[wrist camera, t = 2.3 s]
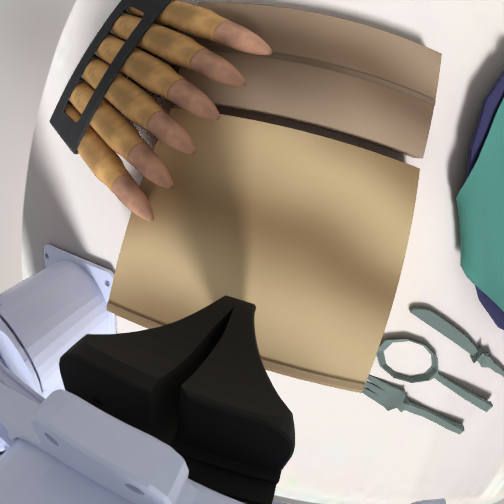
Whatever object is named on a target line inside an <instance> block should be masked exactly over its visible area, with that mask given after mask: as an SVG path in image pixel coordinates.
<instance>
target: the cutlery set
mask: <svg viewBox="0 0 504 504" xmlns="http://www.w3.org/2000/svg"><path fill="white" fill-rule="evenodd" d="M456 201H457V207H458V217H459V221H460V236H461V267H462V269H463V271H464V273H465V275H466V276H467V277H468V278H469V279H470V280H471V281H472V282H473V283H474V284H475V287H476V290H477V294H478V298H479V301H480V302H481V303H482V305H483V306H484V308H485V309H486V310H487V312H488V313H489V315H490V316H491V318H492V319H493V321H494V322H495V324H496V325H497V327H499V328H501V329H503V330H504V72H503V73H502V75H501V76H500V78H499V79H498V81H497V82H496V84H495V85H494V87H493V88H492V90H491V91H490V92H489V94H488V95H487V97H486V98H485V100H484V101H483V104H482V108H481V111H480V115H479V118H478V122H477V125H476V128H475V132H474V135H473V138H472V141H471V144H470V147H469V155H468V168H467V178H466V182H465V183H464V185H463V186H462V188H461V190H460V191H459V193H458V195H457V197H456ZM409 310H410V312H411V313H412V314H414V315H415V316H417V317H418V318H420V319H421V320H423V321H424V322H425V323H427V324H428V325H430V326H431V327H433V328H434V329H436V330H437V331H439V332H440V333H441V334H443V335H444V336H446V337H447V338H449V339H450V340H452V341H453V342H454V343H456V344H457V345H459V346H460V347H462V348H463V349H464V350H466V351H467V352H469V353H470V354H471V356H470V357H471V359H472V361H473V363H475V362H476V361H478V362H479V363H480V365H481V367H489V368H491V369H492V370H493V371H495V372H496V373H499V374H501V375H502V376H503V377H504V371H503V370H502V369H501V368H500V367H499V366H498V365H497V364H496V363H494V362H493V361H492V359H491V358H490V356H489V354H488V353H487V352H484V351H483V349H482V347H481V346H478V347H477V348H476V347H475V345H474V344H473V343H472V342H471V341H470V340H469V338H468V337H467V336H466V335H465V334H464V333H462V332H461V331H460V330H459V329H457V328H456V327H455V326H454V325H452V324H451V323H450V322H448V321H447V320H445V319H444V318H443V317H441V316H440V315H438V314H437V313H435V312H434V311H432V310H430V309H429V308H425V307H411V308H410V309H409ZM403 341H411V342H414V343H417V344H420V345H423V346H424V347H425V348H426V349H427V350H428V352H429V353H430V354H431V359H432V366H431V367H430V368H429V369H428V370H427V371H426V372H425V373H424V374H421V375H416V376H406V375H402V374H398V373H396V372H395V371H394V370H392V369H391V368H390V367H389V366H388V365H387V364H386V361H385V357H384V352H383V351H384V350H385V349H386V348H387V347H388V346H389V345H390V344H391V343H392V342H403ZM377 358H378V361H379V364H380V366H381V367H382V368H383V369H384V370H385V371H386V372H388V373H389V374H390V375H391V376H392V377H393V378H396V379H400V380H403V381H407V382H410V383H415V382H422V381H429V380H431V379H433V378H435V379H437V380H438V381H439V382H441V383H442V384H443V385H445V386H446V387H448V388H449V389H451V390H453V391H454V392H455V393H457V394H458V395H460V396H461V397H462V398H464V399H466V400H467V401H469V402H471V403H472V404H474V405H475V406H477V407H479V408H480V409H482V410H484V411H486V412H487V411H488V410H489V409H490V408H491V407H493V405H492V403H491V402H490V401H488V400H486V399H484V398H482V397H479V396H478V395H476V394H474V393H472V392H470V391H468V390H466V389H464V388H463V387H461V386H459V385H458V384H456V383H454V382H452V381H451V380H449V379H447V378H445V377H444V376H442V375H441V374H439V373H438V358H437V357H436V356H435V355H434V354H433V352H432V351H431V350H430V349H429V348H428V347H427V346H426V345H424V344H421V343H418V342H415V341H412V340H409V339H395V340H385V341H384V342H383V343H382V344H381V346H380V347H379V348H378V351H377ZM367 379H368V380H369V381H371V382H372V383H374V384H372V383H370V382H367V381H366V383H365V386H366V387H367V388H369V389H370V390H369V389H367V388H364V389H363V391H362V393H364V394H365V395H367V396H368V397H370V398H371V399H373V400H375V401H376V402H378V403H379V404H381V405H382V406H384V407H385V408H386V409H387V410H391V409H394V408H398V409H399V410H400V412H402V411H403V410H407V411H409V412H411V413H414V414H417V415H420V416H423V417H425V418H427V419H429V420H431V421H433V422H435V423H437V424H439V425H441V426H443V427H445V428H446V429H448V430H451V431H453V432H455V433H457V434H461V433H462V432H463V431H464V426H463V424H460V423H457V422H455V421H453V420H450V419H449V418H447V417H445V416H443V415H441V414H438V413H436V412H434V411H432V410H430V409H427V408H425V407H423V406H420V405H417V404H415V403H412V402H410V401H408V398H406V397H405V396H406V395H405V390H404V389H402V388H399V387H396V386H394V385H392V384H390V383H387V382H385V381H383V380H380V379H378V378H376V377H373V376H371V375H368V378H367Z"/></svg>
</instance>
